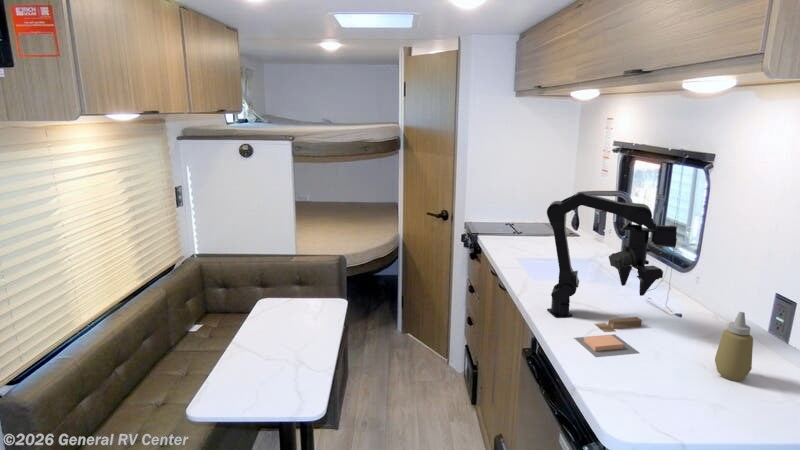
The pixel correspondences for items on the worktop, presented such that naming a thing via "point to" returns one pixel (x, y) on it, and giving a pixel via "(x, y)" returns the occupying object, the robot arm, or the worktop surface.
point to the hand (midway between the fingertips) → (632, 290)
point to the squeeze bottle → (735, 350)
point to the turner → (619, 324)
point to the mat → (626, 350)
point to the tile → (603, 343)
